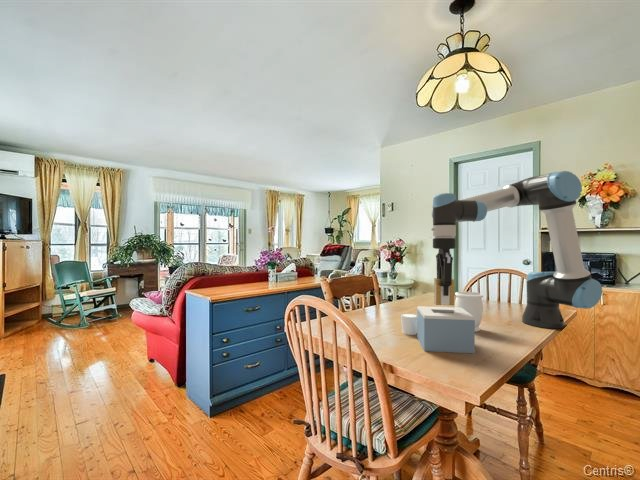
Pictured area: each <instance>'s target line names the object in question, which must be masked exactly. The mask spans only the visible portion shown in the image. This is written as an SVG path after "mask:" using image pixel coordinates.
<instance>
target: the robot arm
mask: <svg viewBox="0 0 640 480" xmlns="http://www.w3.org/2000/svg"><path fill="white" fill-rule="evenodd" d="M582 192H583V185H582V182H581V180H580V178H579V177H578V176H577V175H576V174H574V173H573V172H572V171H569V170H560V171H553V172H549V173H545V174H541V175H536V176H530V177H528V178H525V179H522V180H518V181H516V182H513V183H511V184H507V185H504V186H503V187H502V188H501V189H497V190H494V191H490V192H487V193H483V194H482V193H481V194H478V195H475V196H470V197H467V198H464V199H463V198H462V199H460V200H459V199H457V195H456V194H455V193H452V192H449V193H448V192H447V193H446V192H445V193H444V192H443V193H437V194H435V195H434V196H433V198H432V199H433V200H432V210H431V217H432V227H431V231H432V236H433V239H432V248H433V249H435V250H436V249H437V250H438V253H437V254H436V255H435V257H436V278H442V285H441V284H440V286H441V305H440V306H450V305H449V299H450V285H452V279H453V260H454V257H453V256H452V254H451V252H450V250H455V249H456V246H457V245H456V243H457V242H456V238H455V237H456V236H457V230H456V229H457V226H456V224H457V223H460V222H461V223H462V222H473V223H475V222H481V221H484V219H485V218H486V216H487V215H488V212H491V211H494V210H495V211H496V210H499V209H502V208H506V207H507V208H510V209H511V208H515V207H521V206H523V207H524V206H536V205H537V206H538V210H539V212H541V213H543V214H545V220H546V225H547V230H548V234H549V241H550V243H551V249H552V253H553V259H554V264H555V268H556V271H537V272H536V271H533V272H529V273H528V274H527V275H526V306H525V309H524V311H523V312H522V316H521V317H522V318H521V322H523V323H524V324H526V325H530V326H532V327H537V328H542V329H543V328H545V329H563V328H564V327H565V321H564V320H565V319H564V318H563V315H562V311H561V308H560V305H563V306H569V307H573V308H576V309H584V310H585V309H588V310H589V309H592V308H594V307H595V306H597V305H598V303H599V302H600V300H601V299H602V298H601V297H602V296H603V287H602V284H601V283H600V281H599V280H596V279H594V278H592V274H591V272H590V271H589V270H588V269H586V268H585V265H584V261H583V260H584V259H583V256H582V251H581V250H582V249H581V245H580V240H579V235H578V230H577V226H576V220H575V214H574V210H573V209H574V207H575V206H576V205H577V200H578V199H580V197H581V196H582Z"/></svg>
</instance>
